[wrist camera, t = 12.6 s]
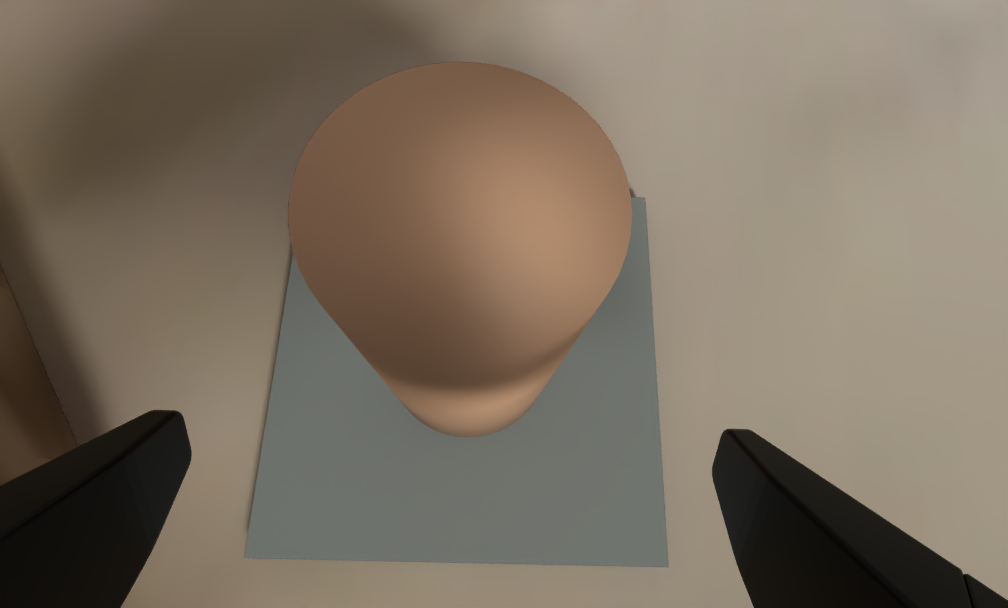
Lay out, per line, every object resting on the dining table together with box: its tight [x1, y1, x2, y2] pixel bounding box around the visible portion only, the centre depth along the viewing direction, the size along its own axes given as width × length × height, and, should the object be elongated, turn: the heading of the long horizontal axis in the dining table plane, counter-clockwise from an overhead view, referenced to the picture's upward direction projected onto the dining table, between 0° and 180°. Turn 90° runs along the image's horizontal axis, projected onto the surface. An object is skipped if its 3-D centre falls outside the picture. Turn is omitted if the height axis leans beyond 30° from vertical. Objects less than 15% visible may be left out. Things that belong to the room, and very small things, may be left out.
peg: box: [288, 62, 632, 437], centre depth 13 cm, size 5×5×10 cm
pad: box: [244, 197, 669, 567], centre depth 18 cm, size 12×12×1 cm
